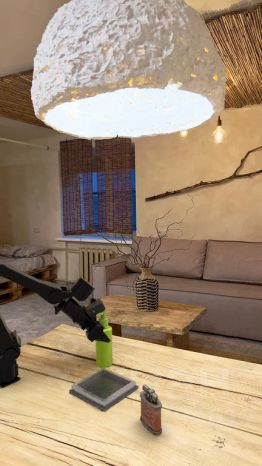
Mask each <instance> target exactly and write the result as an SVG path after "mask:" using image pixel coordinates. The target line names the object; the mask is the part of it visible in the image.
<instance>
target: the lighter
mask: <svg viewBox="0 0 262 466" xmlns="http://www.w3.org/2000/svg"><path fill="white" fill-rule="evenodd" d="M141 387H142V391H140V392H139V397H140V416H139V420H140V422H141V424H142V426H143V427H144V428H145V429H146V430H147V431H148V432H149V433H150V434H151V435H153V436H160V435H162V433H163V428H162V408H163V403H162V402H161V400H160V399H159V395H158V393H156V390H155V389H154V388H151V387H150V386H148V385H147V384H146V383H145V384H142V385H141Z"/></svg>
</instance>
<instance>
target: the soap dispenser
mask: <svg viewBox="0 0 262 466" xmlns="http://www.w3.org/2000/svg"><path fill="white" fill-rule="evenodd" d="M107 311H108V309H107V308H106V310H105V311H102V312H100V313H99V314H97V315H96V316H99V317H98V321H99V322H100V323H101V324H102V325H103V326H104V330H103V331H104V333H105V334H106V335H107V336H108V338H109V339H110V340H111V341H110V342H109V343H106V342H101V341H95V364H96V366H97V367H99V368H109V367H111V366H112V365H113V362H114V361H113V328H112V326H111V325H109V318H108V317H107V314H106V312H107Z"/></svg>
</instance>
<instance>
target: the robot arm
mask: <svg viewBox="0 0 262 466" xmlns="http://www.w3.org/2000/svg"><path fill="white" fill-rule="evenodd" d="M0 278H4V279H6V280H7V281H10V282H12V283H15V284H17V285H19V286H21V287H24V288H25V289H27V290H30V291H31V292H34V293H36V294H37V296H39V297H40V298H42V299H43V300H44V301H45V302H47V303H49V304H50V305H53V312H54V314H55V315H58V314H59V313H60V312H62V313H63V314H64V315H65V316H66V317H68V319H70V320H71V321H72V323H73V324H76V325H78V326H79V327H80V329H81V330H82V331H85V337H86V338H87V340H88V341H90V343H93V342H94V341H95V342H96V341H101V342H106V343H109V342H110V341H111V340H110V339H109V338H108V336H107V335H106V334H105V333H104V331H103V330H104V326H103V325H102V324H101V323H100V322H99V320H98V319H97V316H98V315H97V314H99V313H100V312H102V311H105V310H106V309H107V308H106V306H105V304H104V302H103V300H102V299H101V298H97V299H96V297H94V296H93V297H90V298H89V296H91V295H92V293H93V292H94V291H95V290H96V288H95V287H94V286H93V285H92V284H91V283H90V282H89V281H88V280H85V278H83V277H82V276H79V277H78V278H76V279H77V280H76V281H75V282H74V283H73V285H71V286H66V285H65V286H64V285H59V284H58V283H55V282H51V281H48V280H42V279H38V278H36V277H35V276H32V275H30V274H28V273H26V272H24V271H22V270H20V269H19V268H15V267H13V266H12V265H9V264H8V263H7V262H5V261H1V262H0ZM73 297H74V298H73ZM88 298H89V303H87V305H86V306H85V305H83V304H80V302H81V303H82V302H85V301H86V300H87V299H88ZM21 348H22V338H21V337H20V336H19V334H18V331H17V329H15V330H14V329H13V331H12V330H11V329H10V328H9V327H8V325H7V324H6V321H5V319H4V318H3V315H2V314H1V312H0V387H1V388H6V387H7V386H10V385H12V384H14V383H16V382H18V381H19V380H21V377H20V376H19V375H20V374H19V363H18V362H17V359H19V357H20V356H21V354H22V353H21Z"/></svg>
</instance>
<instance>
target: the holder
mask: <svg viewBox="0 0 262 466" xmlns="http://www.w3.org/2000/svg"><path fill="white" fill-rule="evenodd" d="M138 389H139V385H137V381H135V380H133V379H131V378H128V377H126V376H124V375H121V374H119V373H117V372H115V371H112V370H110V369H108V368H107V367H101V369H99V370H97V371H95V372H93V373H91V374H89V375H88V376H86V377H84V378H83V379H80V380H79V381H76V382H75V383H73V384H72V385H71V389H69V394H71V395H73V396H75V397H77V398H79V399H80V400H82V401H84V402H86V403H88V404H89V405H91V406H93V407H94V408H97V409H99V410H100V411H101V412H104V413H105V412H107V411H108V410H109V409H110V408H112V407H114V406H115V405H117V404H118V403H120V402H121V401H122V400H123V399H125V398H127V397H128V396H130V395H131V394H133V392H136V391H137V390H138Z"/></svg>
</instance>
